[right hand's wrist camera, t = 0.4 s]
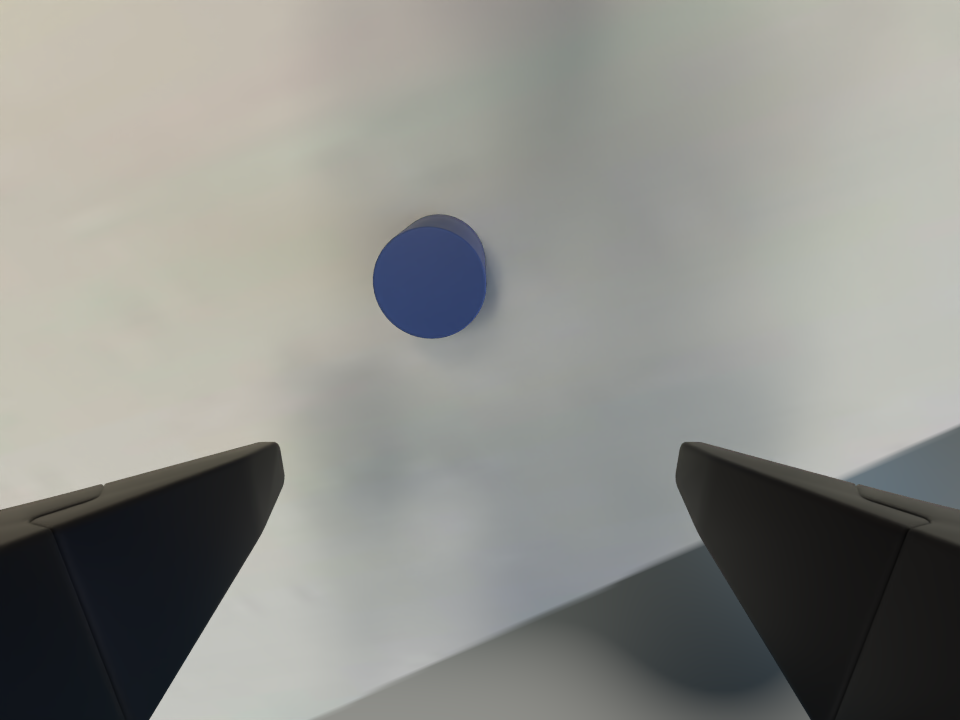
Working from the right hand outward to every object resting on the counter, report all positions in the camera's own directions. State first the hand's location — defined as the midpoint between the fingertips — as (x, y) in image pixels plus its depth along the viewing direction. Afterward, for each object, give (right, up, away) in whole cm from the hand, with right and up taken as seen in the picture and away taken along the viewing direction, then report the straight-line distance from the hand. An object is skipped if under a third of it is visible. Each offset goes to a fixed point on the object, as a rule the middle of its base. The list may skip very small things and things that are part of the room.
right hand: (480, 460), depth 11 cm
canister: (-2, +6, +8) cm, 11 cm away
